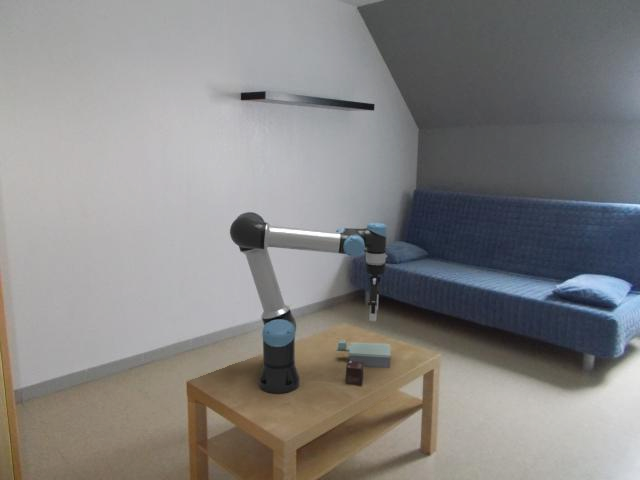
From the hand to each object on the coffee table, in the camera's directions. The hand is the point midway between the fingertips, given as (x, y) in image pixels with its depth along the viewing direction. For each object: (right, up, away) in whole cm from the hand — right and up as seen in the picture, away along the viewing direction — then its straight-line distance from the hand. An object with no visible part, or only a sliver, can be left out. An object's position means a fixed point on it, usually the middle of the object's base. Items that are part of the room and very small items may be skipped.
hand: (373, 315), depth 196 cm
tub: (-1, -21, +9) cm, 23 cm away
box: (-8, -24, -9) cm, 27 cm away
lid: (-3, -16, +9) cm, 18 cm away
